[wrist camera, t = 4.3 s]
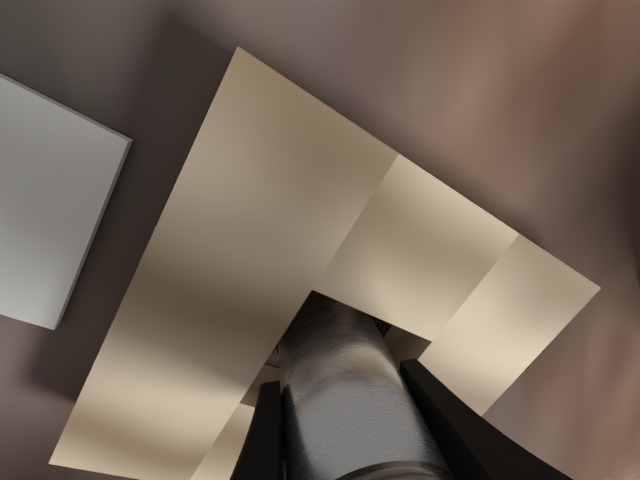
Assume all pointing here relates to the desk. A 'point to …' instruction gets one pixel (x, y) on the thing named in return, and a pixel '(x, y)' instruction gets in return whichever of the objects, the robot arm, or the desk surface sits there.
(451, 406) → the robot arm
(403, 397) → the end cover
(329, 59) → the desk surface
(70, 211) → the mat
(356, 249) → the bore block
